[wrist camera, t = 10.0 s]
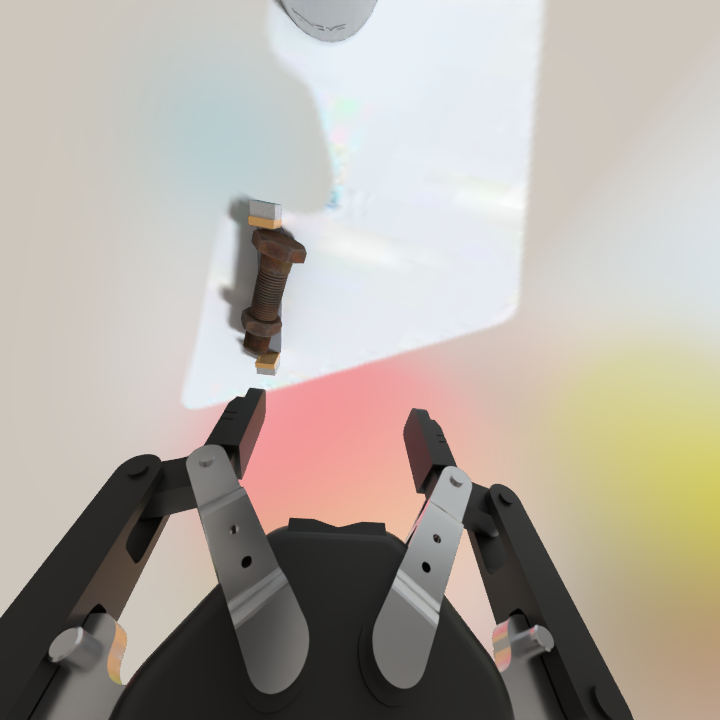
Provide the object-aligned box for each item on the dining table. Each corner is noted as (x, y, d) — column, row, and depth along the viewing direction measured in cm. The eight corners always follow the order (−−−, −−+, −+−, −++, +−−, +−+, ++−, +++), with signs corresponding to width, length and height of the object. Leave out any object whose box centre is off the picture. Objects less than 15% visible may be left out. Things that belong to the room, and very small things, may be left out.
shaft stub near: (258, 200, 28) (247, 199, 25) (281, 204, 28) (273, 204, 25) (258, 222, 29) (248, 224, 26) (281, 226, 29) (273, 229, 26)
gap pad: (257, 223, 29) (256, 223, 29) (282, 228, 29) (281, 228, 29) (261, 349, 37) (260, 350, 37) (280, 351, 38) (280, 352, 37)
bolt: (258, 334, 38) (282, 231, 30) (283, 353, 37) (315, 250, 29) (223, 345, 33) (242, 224, 25) (251, 366, 32) (280, 247, 24)
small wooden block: (262, 349, 37) (255, 362, 34) (279, 352, 38) (274, 364, 35) (262, 362, 39) (255, 375, 36) (279, 364, 39) (274, 377, 36)
